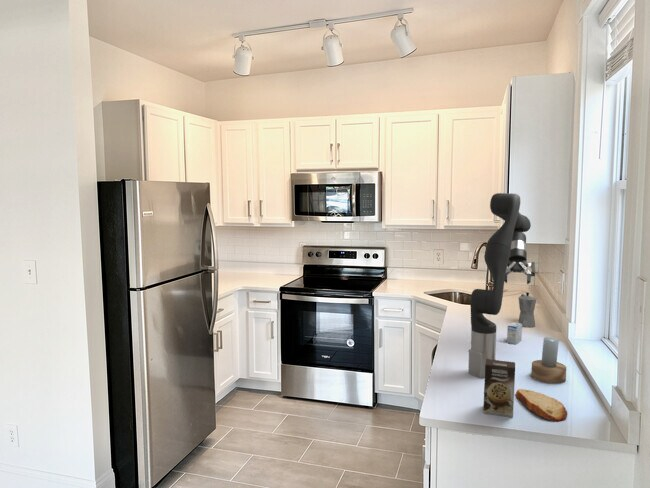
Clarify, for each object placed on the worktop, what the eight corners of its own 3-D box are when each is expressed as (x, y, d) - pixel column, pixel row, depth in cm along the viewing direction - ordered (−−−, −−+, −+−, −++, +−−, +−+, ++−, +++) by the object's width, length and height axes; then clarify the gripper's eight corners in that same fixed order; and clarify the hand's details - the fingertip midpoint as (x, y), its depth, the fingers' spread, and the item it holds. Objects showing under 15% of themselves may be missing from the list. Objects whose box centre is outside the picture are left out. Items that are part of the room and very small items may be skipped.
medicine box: (512, 339, 231) (512, 321, 230) (521, 341, 228) (522, 323, 227) (506, 343, 225) (507, 325, 224) (516, 345, 222) (517, 326, 221)
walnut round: (552, 386, 173) (552, 373, 173) (524, 375, 184) (524, 363, 183) (572, 380, 179) (573, 367, 179) (544, 370, 190) (545, 358, 189)
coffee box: (482, 413, 151) (484, 364, 150) (483, 405, 157) (485, 358, 156) (513, 418, 148) (515, 368, 146) (513, 409, 154) (515, 361, 152)
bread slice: (517, 392, 169) (518, 382, 168) (574, 405, 158) (574, 394, 157) (502, 410, 155) (502, 398, 154) (562, 425, 144) (563, 414, 143)
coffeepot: (540, 328, 249) (541, 295, 247) (521, 328, 249) (522, 294, 248) (529, 321, 264) (530, 289, 262) (512, 321, 265) (513, 289, 263)
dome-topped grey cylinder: (542, 366, 179) (545, 341, 178) (539, 361, 184) (542, 336, 183) (557, 368, 178) (560, 342, 177) (554, 362, 183) (556, 338, 182)
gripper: (500, 246, 211) (499, 276, 201) (535, 247, 206) (535, 278, 196) (500, 257, 216) (499, 286, 207) (534, 258, 211) (534, 288, 202)
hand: (517, 282), depth 201 cm, fingers open, 8 cm apart
